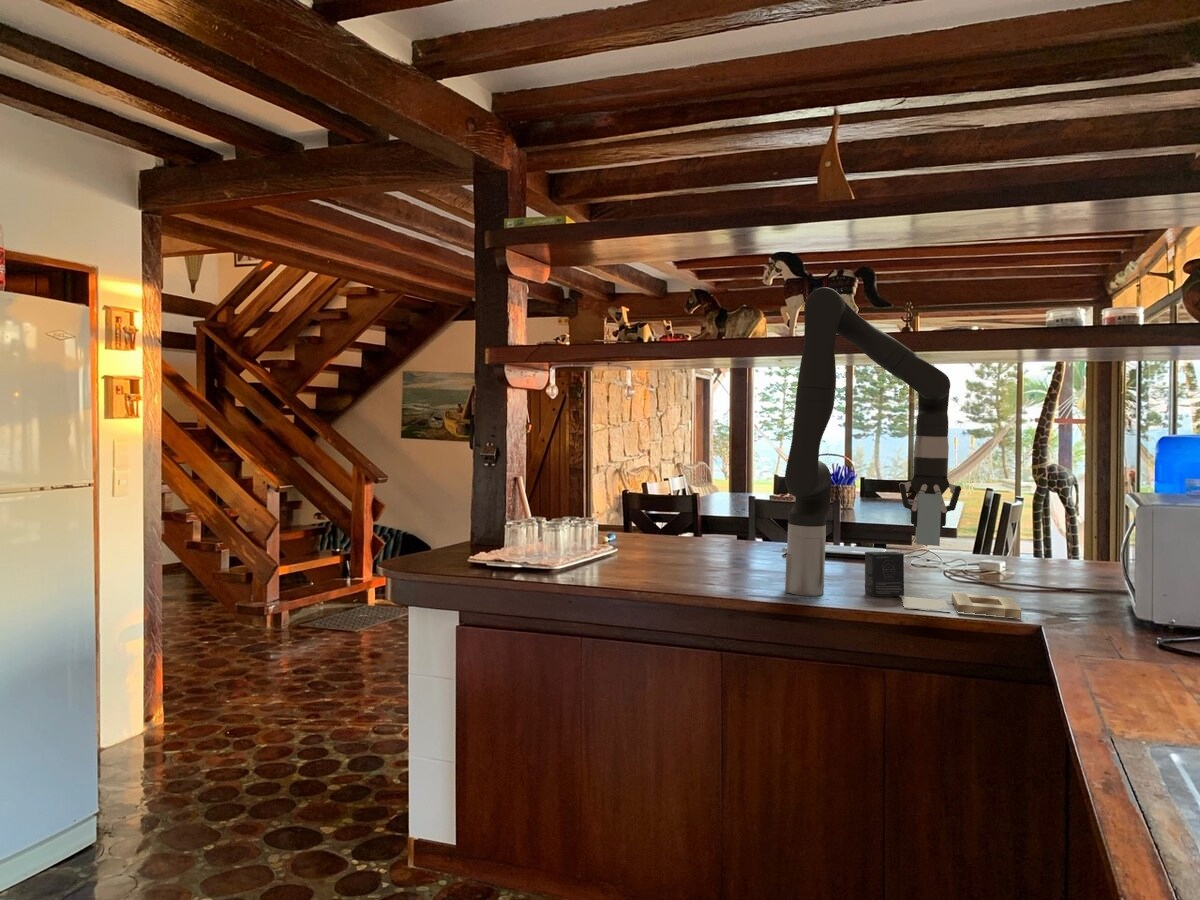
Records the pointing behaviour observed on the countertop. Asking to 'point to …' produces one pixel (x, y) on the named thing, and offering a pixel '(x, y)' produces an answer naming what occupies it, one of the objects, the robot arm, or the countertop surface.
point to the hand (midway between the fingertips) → (927, 527)
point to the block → (928, 519)
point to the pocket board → (986, 605)
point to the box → (884, 573)
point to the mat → (923, 603)
